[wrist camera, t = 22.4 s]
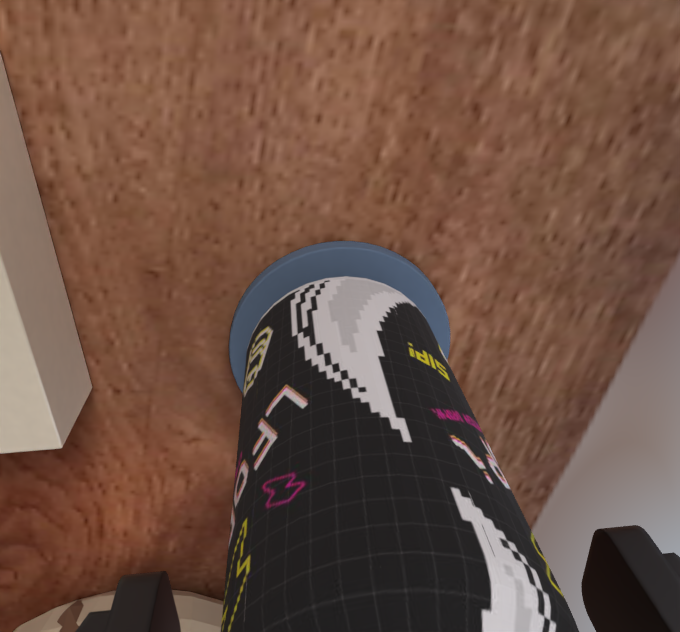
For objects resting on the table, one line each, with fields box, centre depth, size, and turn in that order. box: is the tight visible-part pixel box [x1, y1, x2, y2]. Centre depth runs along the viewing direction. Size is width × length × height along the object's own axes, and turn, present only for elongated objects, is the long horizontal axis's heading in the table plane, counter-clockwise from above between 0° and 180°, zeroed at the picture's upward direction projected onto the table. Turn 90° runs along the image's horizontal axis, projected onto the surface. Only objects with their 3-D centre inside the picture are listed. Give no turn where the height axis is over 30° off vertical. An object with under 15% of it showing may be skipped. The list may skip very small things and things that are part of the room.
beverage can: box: [221, 276, 579, 632], centre depth 13 cm, size 6×6×12 cm
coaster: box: [229, 241, 450, 394], centre depth 18 cm, size 7×7×1 cm
